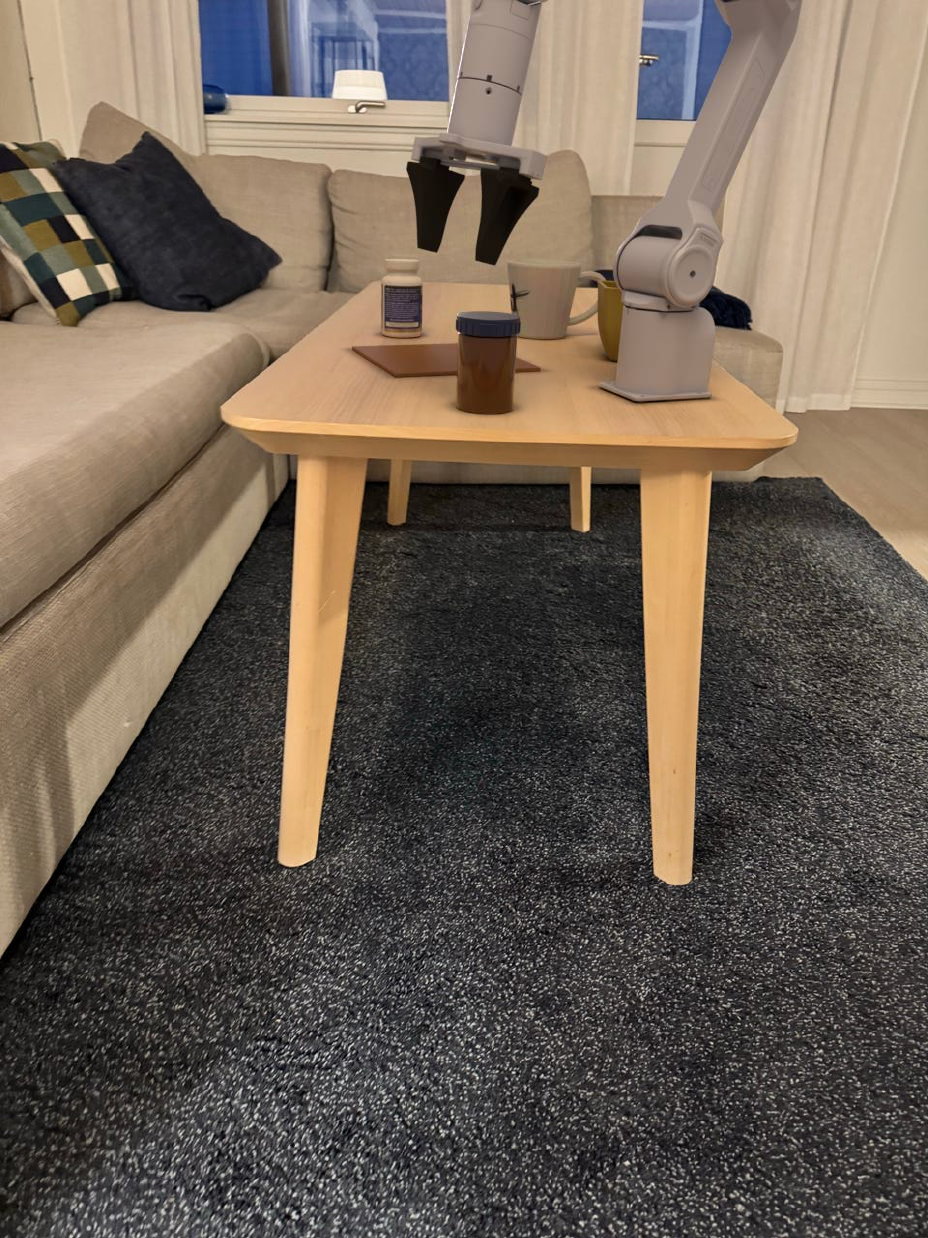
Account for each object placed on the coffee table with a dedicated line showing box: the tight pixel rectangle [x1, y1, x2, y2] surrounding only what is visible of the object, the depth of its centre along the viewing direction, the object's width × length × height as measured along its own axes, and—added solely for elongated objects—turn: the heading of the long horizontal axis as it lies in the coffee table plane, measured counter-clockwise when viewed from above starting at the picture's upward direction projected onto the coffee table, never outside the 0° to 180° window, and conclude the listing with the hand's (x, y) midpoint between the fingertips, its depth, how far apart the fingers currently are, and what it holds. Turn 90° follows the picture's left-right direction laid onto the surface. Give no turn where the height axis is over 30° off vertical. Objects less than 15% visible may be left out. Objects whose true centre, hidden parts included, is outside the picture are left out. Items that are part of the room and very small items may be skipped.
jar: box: [455, 332, 518, 415], centre depth 87 cm, size 6×6×8 cm
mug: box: [506, 258, 607, 340], centre depth 130 cm, size 10×15×10 cm
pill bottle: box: [380, 258, 424, 339], centre depth 125 cm, size 6×6×10 cm
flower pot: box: [597, 280, 624, 362], centre depth 115 cm, size 9×9×9 cm
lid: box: [455, 310, 521, 336], centre depth 86 cm, size 6×6×1 cm
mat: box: [351, 342, 542, 378], centre depth 111 cm, size 18×18×1 cm
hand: (455, 256), depth 82 cm, fingers open, 7 cm apart
